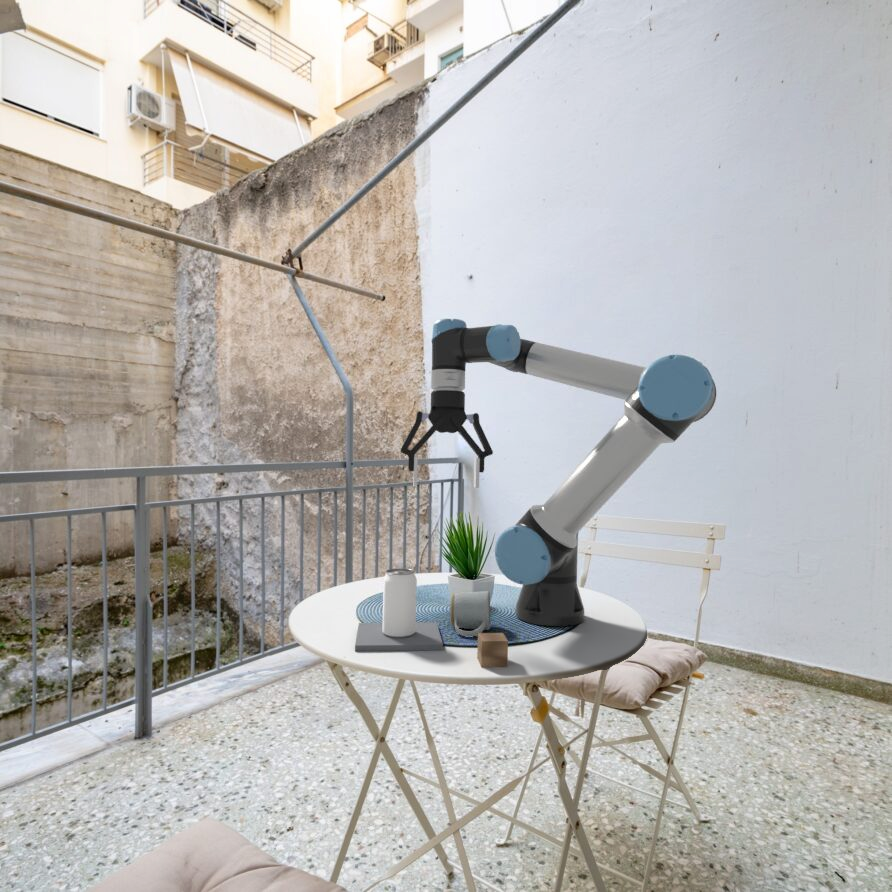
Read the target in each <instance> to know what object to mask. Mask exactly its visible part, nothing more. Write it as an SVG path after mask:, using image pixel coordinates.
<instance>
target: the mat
mask: <svg viewBox="0 0 892 892" xmlns="http://www.w3.org/2000/svg"><path fill="white" fill-rule="evenodd" d="M357 626H358V627H357V632H356V638H355V644H354V652H381V651H383V652H386V651H390V652H392V651H397V652H399V651H401V652H402V651H443V650H444V644H443V639H442V637H441V633H440V632H441V631H440V629H439V626H438V622H436V621H435V622H432V621H431V622H416V631H415V633H414V634H413V635H412V636H409V637H404V638H393V637H388V636H386V635H385V634H384V633H383V631H382V626H383V622H359V623H358V625H357Z"/></svg>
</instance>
